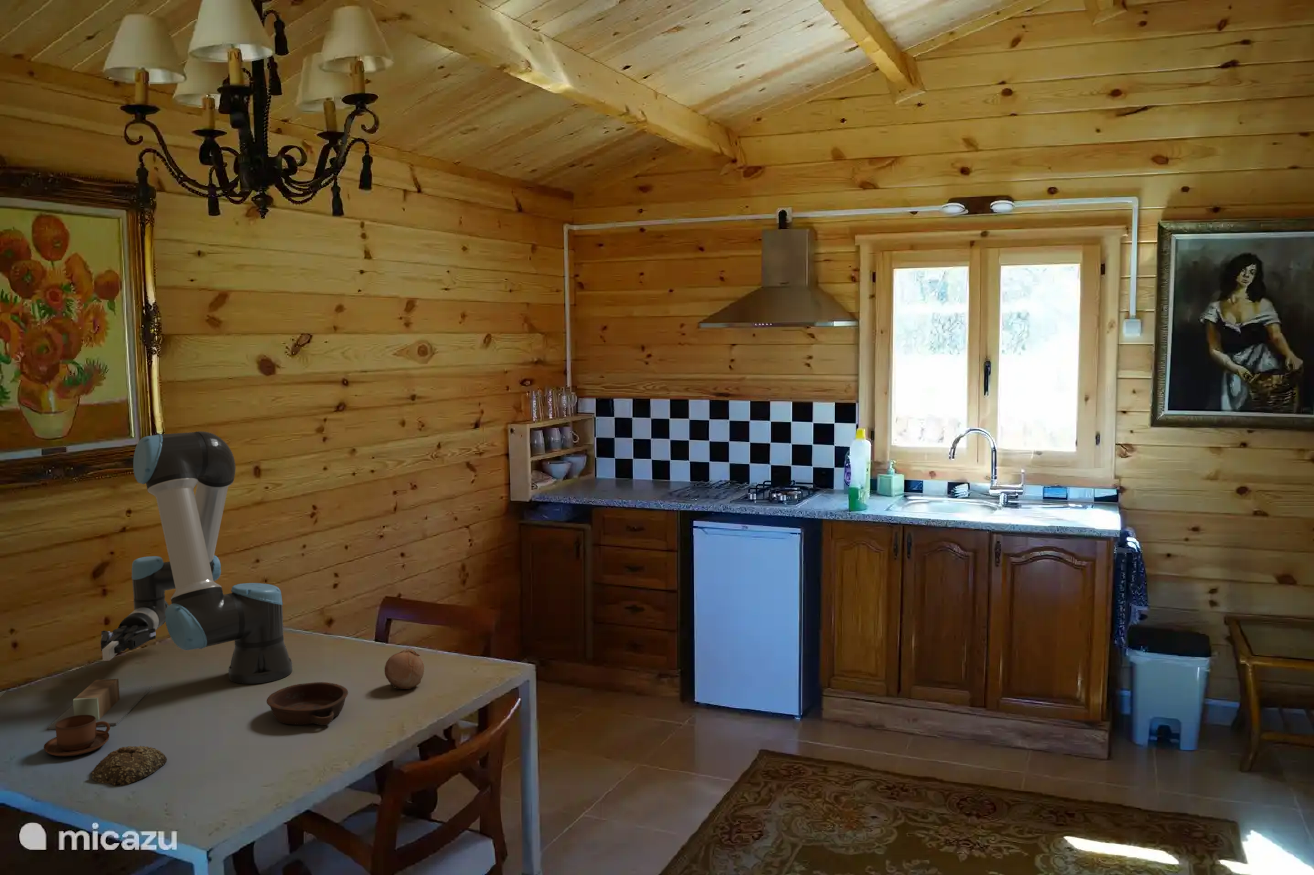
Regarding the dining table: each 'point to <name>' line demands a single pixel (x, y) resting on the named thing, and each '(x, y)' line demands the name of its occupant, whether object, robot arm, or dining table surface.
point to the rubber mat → (115, 706)
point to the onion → (404, 669)
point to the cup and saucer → (77, 736)
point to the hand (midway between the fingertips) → (105, 655)
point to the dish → (308, 703)
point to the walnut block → (97, 698)
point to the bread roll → (128, 765)
